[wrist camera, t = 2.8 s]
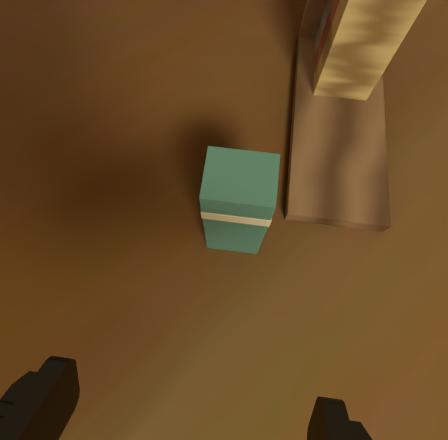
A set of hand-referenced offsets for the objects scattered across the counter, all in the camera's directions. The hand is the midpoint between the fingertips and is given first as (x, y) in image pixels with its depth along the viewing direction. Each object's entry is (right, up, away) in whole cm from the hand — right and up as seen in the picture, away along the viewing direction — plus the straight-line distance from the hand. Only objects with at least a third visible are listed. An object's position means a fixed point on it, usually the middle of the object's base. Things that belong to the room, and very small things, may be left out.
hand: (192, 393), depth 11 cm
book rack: (+14, +16, +27) cm, 34 cm away
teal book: (+2, +5, +22) cm, 23 cm away
